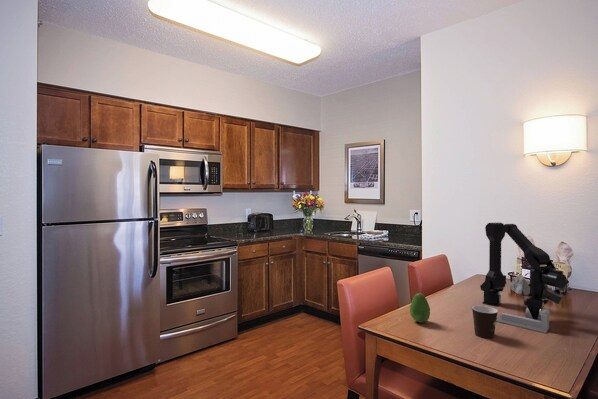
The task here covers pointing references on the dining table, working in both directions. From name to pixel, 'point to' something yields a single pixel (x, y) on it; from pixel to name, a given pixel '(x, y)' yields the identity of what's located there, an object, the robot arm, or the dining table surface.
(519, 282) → the mineral rock
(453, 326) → the dining table surface
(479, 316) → the coffee mug
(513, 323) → the hitch plate
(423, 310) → the fruit
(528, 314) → the lock block
